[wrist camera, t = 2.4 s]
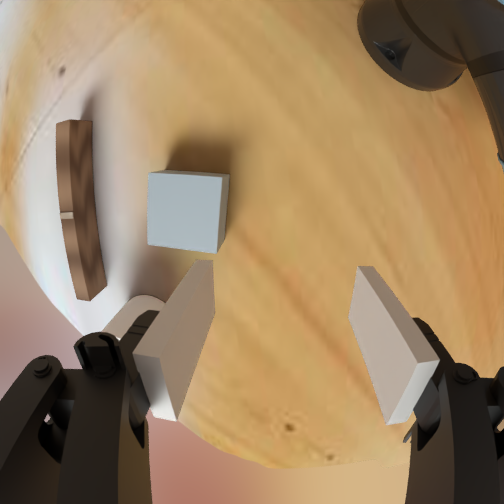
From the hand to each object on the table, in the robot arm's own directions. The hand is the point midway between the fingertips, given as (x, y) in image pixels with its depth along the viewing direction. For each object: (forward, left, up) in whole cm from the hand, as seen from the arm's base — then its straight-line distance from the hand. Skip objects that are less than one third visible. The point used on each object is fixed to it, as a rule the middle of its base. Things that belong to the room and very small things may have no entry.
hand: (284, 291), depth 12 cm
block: (0, -10, -21) cm, 23 cm away
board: (0, -26, -21) cm, 33 cm away
